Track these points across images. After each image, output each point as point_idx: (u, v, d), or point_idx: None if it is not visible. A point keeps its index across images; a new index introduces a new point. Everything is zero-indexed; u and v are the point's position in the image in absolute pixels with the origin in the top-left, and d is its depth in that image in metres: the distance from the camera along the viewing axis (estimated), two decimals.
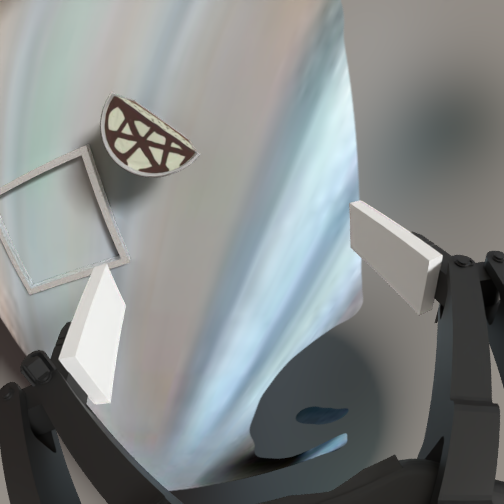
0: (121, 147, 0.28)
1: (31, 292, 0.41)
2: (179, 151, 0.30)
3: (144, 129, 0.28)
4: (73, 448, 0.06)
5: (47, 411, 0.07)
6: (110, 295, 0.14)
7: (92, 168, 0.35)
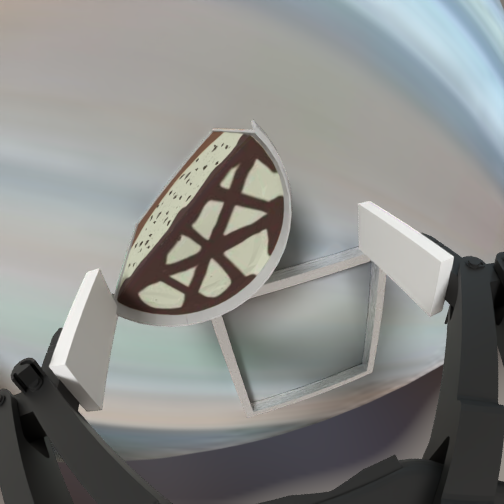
0: (219, 285, 0.16)
1: (371, 370, 0.37)
2: (242, 170, 0.14)
3: (185, 245, 0.14)
4: (66, 455, 0.05)
5: (39, 419, 0.06)
6: (103, 300, 0.13)
7: None
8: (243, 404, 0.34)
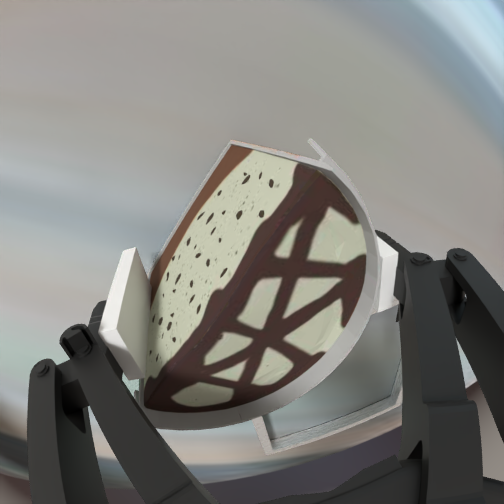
0: (278, 371, 0.12)
1: (399, 403, 0.32)
2: (308, 226, 0.09)
3: (229, 342, 0.10)
4: (104, 424, 0.06)
5: (82, 384, 0.08)
6: (140, 277, 0.15)
7: None
8: (263, 444, 0.29)
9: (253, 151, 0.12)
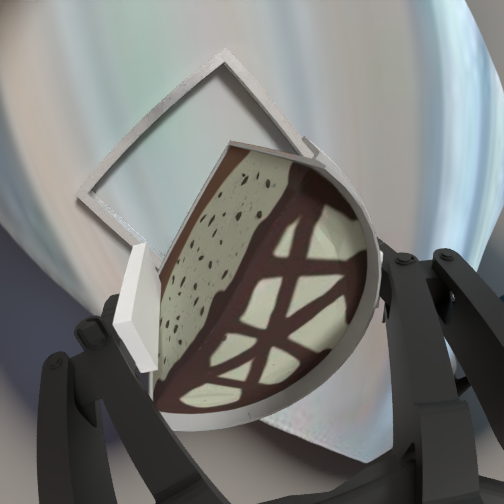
0: (285, 370, 0.12)
1: None
2: (305, 225, 0.09)
3: (233, 343, 0.10)
4: (116, 416, 0.07)
5: (95, 376, 0.08)
6: (150, 271, 0.15)
7: (247, 73, 0.25)
8: (96, 170, 0.26)
9: (251, 151, 0.12)
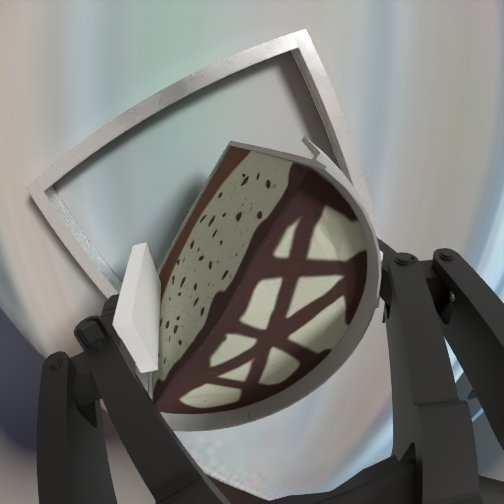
0: (284, 370, 0.12)
1: None
2: (305, 226, 0.09)
3: (233, 343, 0.10)
4: (116, 416, 0.07)
5: (95, 376, 0.08)
6: (150, 271, 0.15)
7: (324, 75, 0.16)
8: (63, 159, 0.15)
9: (251, 152, 0.12)
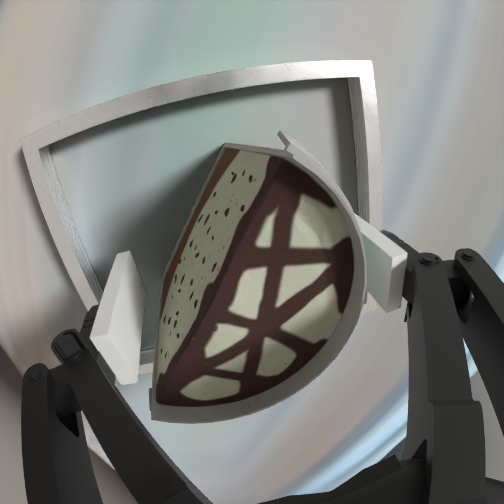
0: (281, 361, 0.12)
1: None
2: (284, 215, 0.09)
3: (226, 333, 0.10)
4: (97, 428, 0.06)
5: (74, 390, 0.07)
6: (134, 280, 0.14)
7: (376, 113, 0.16)
8: (71, 119, 0.12)
9: (240, 151, 0.13)
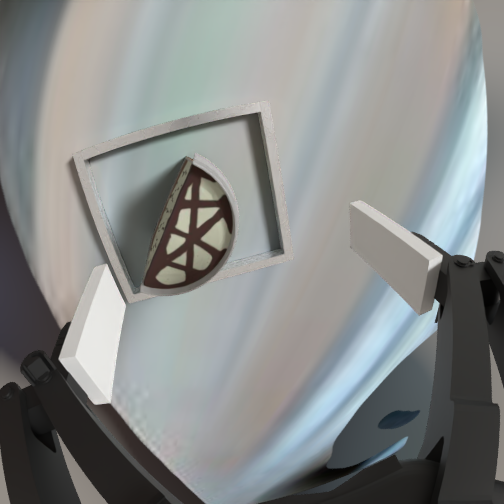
0: (205, 260, 0.25)
1: (132, 300, 0.34)
2: (195, 186, 0.22)
3: (175, 240, 0.23)
4: (73, 448, 0.06)
5: (47, 411, 0.07)
6: (110, 295, 0.14)
7: (273, 132, 0.29)
8: (103, 144, 0.26)
9: (188, 161, 0.26)
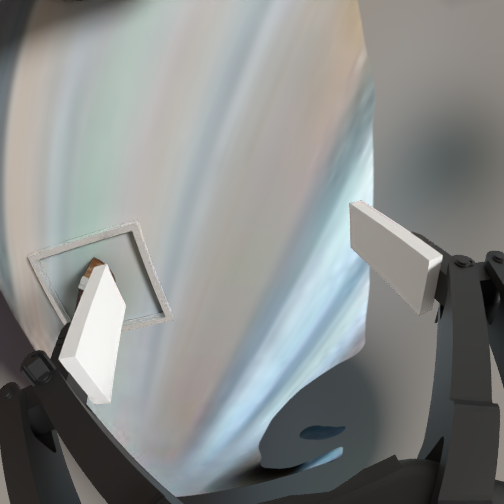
0: None
1: None
2: None
3: None
4: (73, 448, 0.06)
5: (47, 411, 0.07)
6: (110, 295, 0.14)
7: (142, 243, 0.43)
8: (43, 252, 0.39)
9: None
